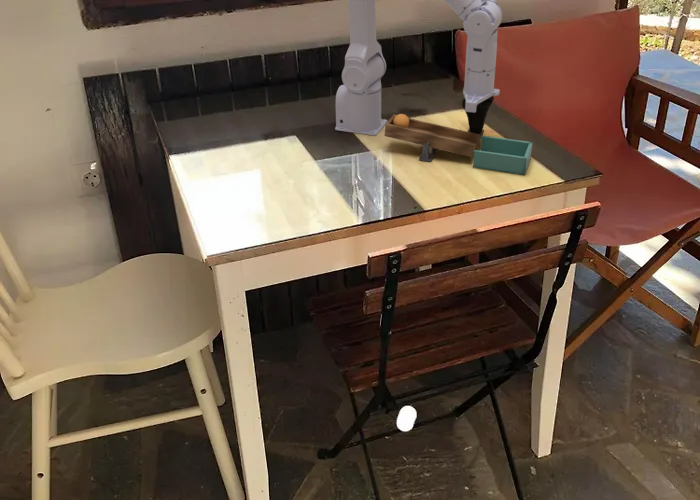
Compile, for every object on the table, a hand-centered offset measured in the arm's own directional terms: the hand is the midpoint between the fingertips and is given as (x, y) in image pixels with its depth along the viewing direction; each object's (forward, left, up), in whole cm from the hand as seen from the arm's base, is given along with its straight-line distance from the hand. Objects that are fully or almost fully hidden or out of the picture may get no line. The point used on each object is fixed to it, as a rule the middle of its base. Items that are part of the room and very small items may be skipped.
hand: (476, 132), depth 147 cm
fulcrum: (-8, -6, -3) cm, 10 cm away
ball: (-14, -6, +3) cm, 16 cm away
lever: (-8, -3, 0) cm, 9 cm away
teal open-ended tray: (+7, -6, -3) cm, 9 cm away
